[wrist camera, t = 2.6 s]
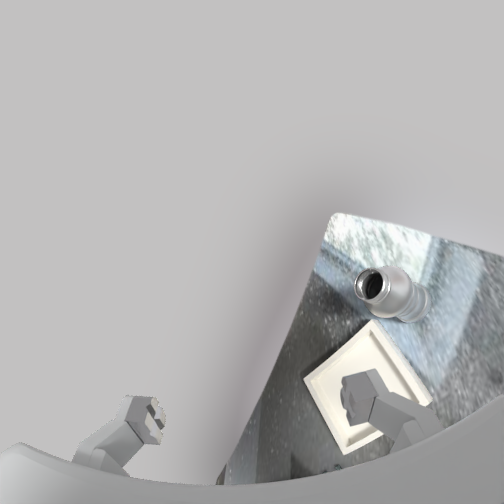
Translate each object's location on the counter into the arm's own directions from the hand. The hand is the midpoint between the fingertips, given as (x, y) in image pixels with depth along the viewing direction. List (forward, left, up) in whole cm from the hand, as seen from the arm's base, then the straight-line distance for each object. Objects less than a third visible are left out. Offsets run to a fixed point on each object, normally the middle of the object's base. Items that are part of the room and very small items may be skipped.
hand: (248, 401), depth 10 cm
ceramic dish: (+3, +13, -38) cm, 40 cm away
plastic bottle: (+9, -3, -38) cm, 39 cm away
